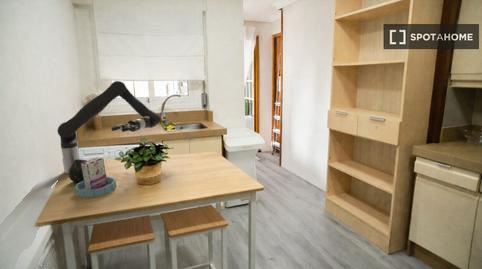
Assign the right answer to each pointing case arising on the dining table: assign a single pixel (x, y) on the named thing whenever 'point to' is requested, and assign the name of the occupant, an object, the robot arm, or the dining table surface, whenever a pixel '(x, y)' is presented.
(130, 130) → the robot arm
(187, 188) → the dining table surface
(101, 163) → the candy bar box
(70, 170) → the squash
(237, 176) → the dining table surface
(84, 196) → the bowl
